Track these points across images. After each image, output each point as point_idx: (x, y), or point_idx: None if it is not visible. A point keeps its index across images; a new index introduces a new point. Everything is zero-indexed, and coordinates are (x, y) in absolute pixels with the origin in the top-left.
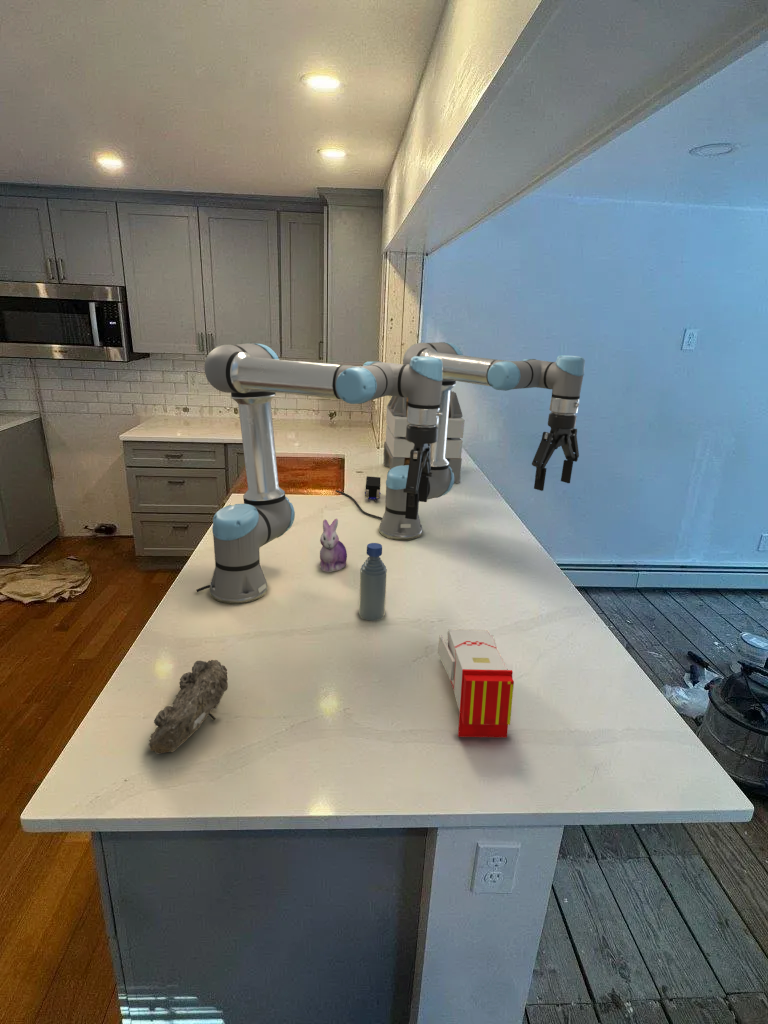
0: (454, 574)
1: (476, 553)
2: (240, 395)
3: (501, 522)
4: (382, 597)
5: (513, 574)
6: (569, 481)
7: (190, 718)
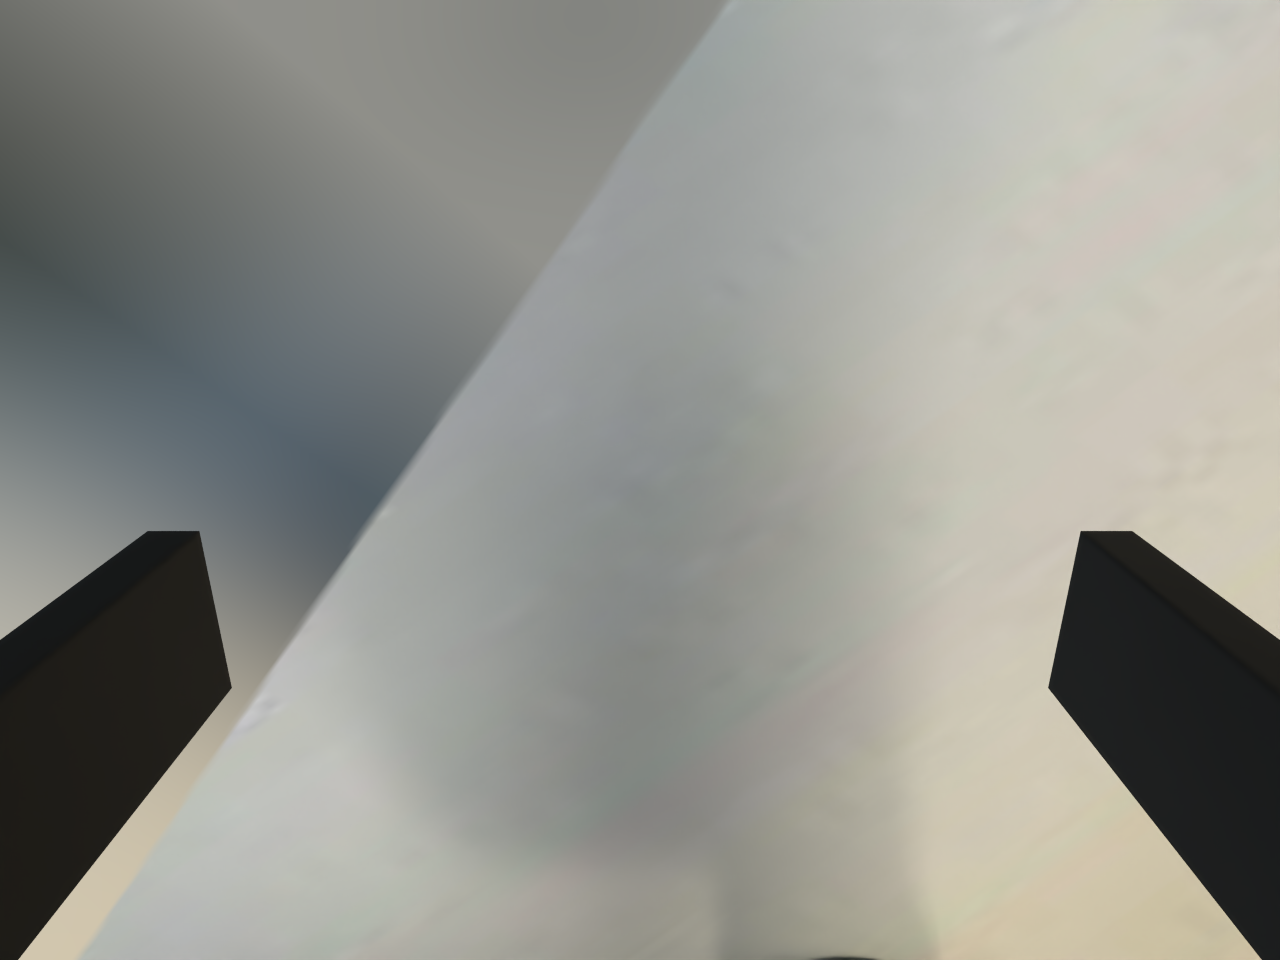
0: (1064, 586)
1: (728, 689)
2: None
3: (228, 876)
4: None
5: (798, 392)
6: (155, 546)
7: None
